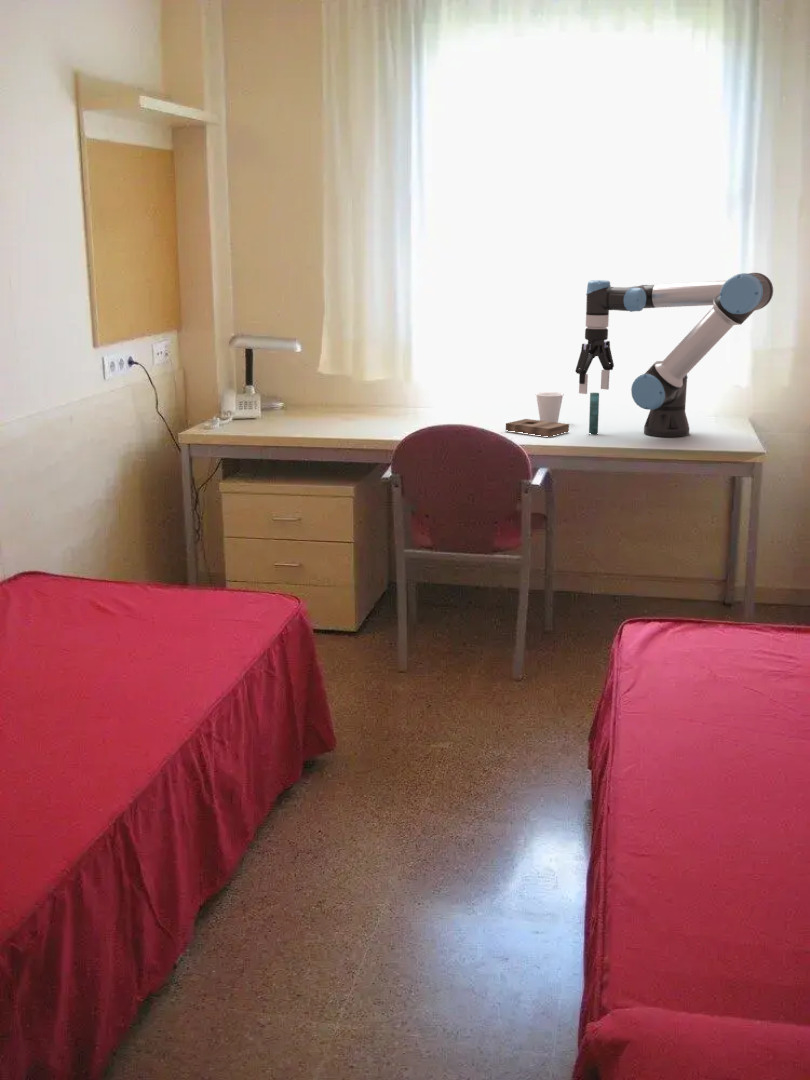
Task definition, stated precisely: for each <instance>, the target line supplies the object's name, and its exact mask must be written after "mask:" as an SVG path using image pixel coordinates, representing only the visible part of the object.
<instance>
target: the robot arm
mask: <svg viewBox="0 0 810 1080" xmlns="http://www.w3.org/2000/svg"><path fill="white" fill-rule="evenodd" d="M773 295H774V287H773V283H772V281H771V279H770V278H769V277H768V276H767V275H765V274H763V273H760V272H746V273H738V274H735V275H733V276H731V277H729V278H727V279H726V280H715V281H711V280H710V281H697V282H695V281H693V282H682V283H679V282H678V283H667V284H666V283H664V284H641V285H638V286H637V285H635V286H629V287H627V286H625V287H622V286H621V287H619V286H617V287H616V286H611V281H609V280H606V279H605V280H604V279H602V280H601V279H597V280H596V279H595V280H589V281H588V282H587V288H586V303H585V304H586V305H585V307H586V308H585V310H586V311H585V327H586V328H585V330H584V339H585V340H586V341H587V343H582V344H581V350H580V354H579V358H578V361H577V365H576V368H575V370H574V371H575V373H576V375H577V374H578V375H579V380H578V382H579V384H578V394H582V395H588V379H589V374H587V373H588V370H589V368H590V366H591V364H592V362H593V359H595V358H596V357H597V358H598V360H599V362H600V365H601V367H602V369H601V376H600V390H608V391H609V389H610V373H611V372H610V371H613V369H614V367H615V364H614V361H613V360H614V359H613V356H612V351H611V342H610V340H608V339H609V338H608V337H609V329H608V327H609V322H610V321H609V320H610V319H609V317H610V311H620V312H621V311H623V312H629V313H630V312H632V313H633V312H641V311H643V310H644V309H656V308H657V309H658V308H659V309H660V308H675V307H676V308H679V307H697V306H698V307H700V306H701V307H703V306H713V307H712V308H710V310H709V311H708V312H707V313H706V314H705V315H704V316H703V317H702V319H701V320H700V321H699V322H698V323H697V324H696V325H695V326H694V327H693V328H692V329H691V330H690V331H689V332H688V333H687V334H686V336H685V337H683V339H682V340H681V341H680V342H679V343H678V344H677V345H676V346H675V347H674V349H673V350H672V351H670V353H669V354H668V355H667V356H666V357H665V358H664V359H663V360H658V361H657V360H656V361H655V362H654V363H653V364H652V365H651V366H650V367H649V368H648V370H647V371H645V373H642V374H640V375H639V376H637V377H636V378H635V379H634V380H633V383H632V384H631V388H630V390H631V397H632V400H633V402H634V403H635V404H636V406H639V407H640V408H641V409H644V410H649V413H648V415H647V418H646V421H645V423H644V427H643V433H644V434H645V435H647V436H652V437H658V438H659V437H660V438H679V437H686V436H688V435H690V425H689V420H688V417H687V413H686V403H687V387H688V386H687V384H688V374H689V373H690V372H691V371H692V369H694V368H695V366H696V365H697V364H698V363H699V362H701V360H702V359H703V358H704V357H705V356H706V355H707V354H708V353H709V352H710V350H712V349H713V347H714V346H716V344H717V343H718V342H720V340H721V339H723V337H724V336H725V335H727V333H728V332H729V331H730V330H731V329H732V328H733V327H734V326H739V325H742V324H743V323H745V321H746V320H747V319H748V318H750V316H751V315H752V314H753V313H754V312H755V311H758V310H761V309H763V308H765V307H766V306H767V305H768V304H769V303H770V302H771V300H772V298H773Z"/></svg>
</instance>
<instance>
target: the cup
mask: <svg viewBox="0 0 810 1080" xmlns="http://www.w3.org/2000/svg"><path fill="white" fill-rule="evenodd" d="M535 395H536V402H537V408H538V409H537V410H538V415H539V421H547V422H556V423H559V418H560V412H561V407H562V402H563V396H564V393H562V392H556V391H543V392H536V393H535Z"/></svg>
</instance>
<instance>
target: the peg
mask: <svg viewBox="0 0 810 1080" xmlns="http://www.w3.org/2000/svg"><path fill="white" fill-rule="evenodd" d="M589 393H590V395H589V415H588V416H589V417H588V418H589V419H588V421H589V422H588V423H589V424H588V434H589V433H591V434H597V433H598V434H599V415H600V413H599V412H600V411H599V409H600V407H599V406H600V392H589ZM598 434H597V435H598Z"/></svg>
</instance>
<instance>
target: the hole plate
mask: <svg viewBox="0 0 810 1080" xmlns="http://www.w3.org/2000/svg"><path fill="white" fill-rule="evenodd" d="M506 430H508V431H515V432H523V433H528V434H535V435H541V436H548V437H550V436H553V435H557V434H561V433H564V432H568V431H569V432H570V424H569V423H563V422H558V423H556V422H547V421H540V419H538V420H537V419H530V418H524V419H520V420H515V421H510V422H506V423H505V431H506ZM548 437H547V438H548ZM550 438H551V437H550Z"/></svg>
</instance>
